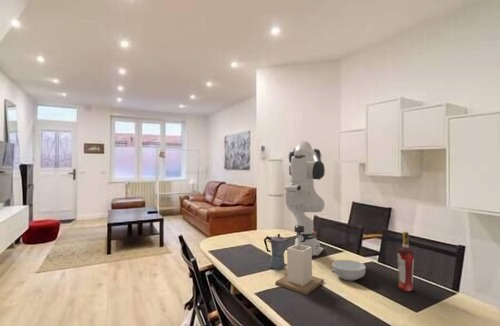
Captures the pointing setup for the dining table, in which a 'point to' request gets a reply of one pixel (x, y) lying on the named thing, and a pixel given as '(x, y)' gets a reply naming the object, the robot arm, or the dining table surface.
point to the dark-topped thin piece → (299, 234)
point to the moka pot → (277, 251)
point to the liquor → (405, 265)
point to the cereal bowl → (349, 269)
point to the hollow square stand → (299, 271)
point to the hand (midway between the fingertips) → (299, 212)
